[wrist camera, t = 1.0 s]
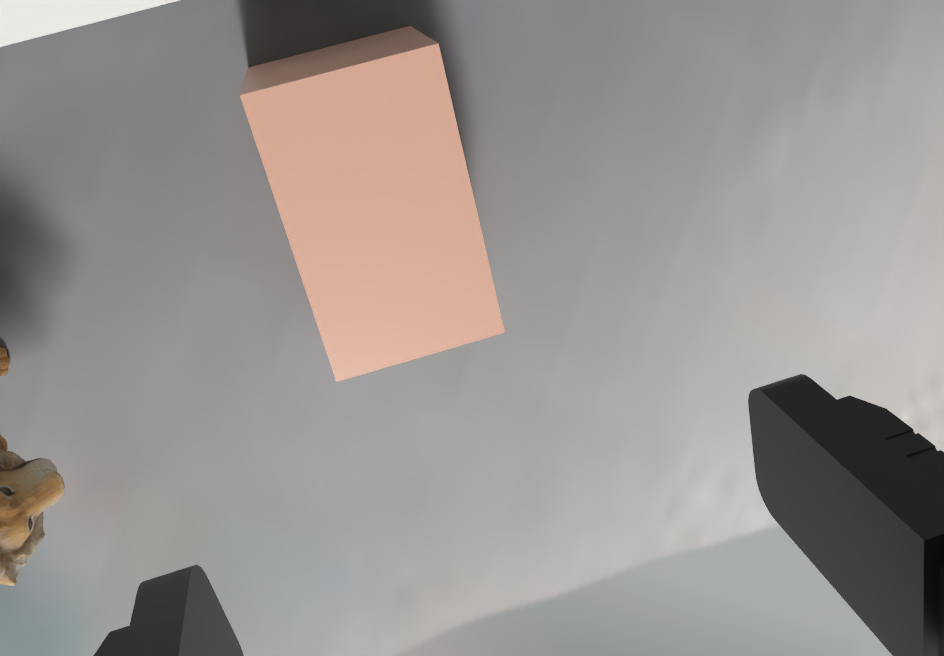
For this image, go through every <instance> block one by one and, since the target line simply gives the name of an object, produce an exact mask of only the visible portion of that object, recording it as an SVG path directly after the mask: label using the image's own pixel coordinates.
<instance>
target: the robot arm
mask: <svg viewBox="0 0 944 656" xmlns="http://www.w3.org/2000/svg"><path fill="white" fill-rule="evenodd" d="M748 403H749V414H750V424H751V434H752V444H753V454H754V463H755V473H756V480H757V484H758V487H759V491H760V493H761V496H762V498H763V501H764V503H765V505H766V507H767V509H768V510H769V512H770V513H771V515H772V516H773V518H774V519H775V520H776V521H777V523H778V524H779V525H780V526H781V527H782V528H783V529H784V531H785V532H786V533H787V534H788V535H789V536H790V538H792V540H793V541H794V542H795V543H796V544H797V546H798V547H799V548H800V549H801V550H802V551H803V552H804V554H805V555H806V556H807V557H808V558H809V559H810V561H811V562H812V563H813V564H814V565H815V566H816V568H817V569H818V570H819V571H820V572H821V573H822V574H823V576H824V577H825V578H826V579H827V580H828V581H829V582H830V584H831V585H832V586H833V587H834V588H835V589H836V590H837V592H838V593H839V594H840V595H841V596H842V597H843V599H844V600H845V601H846V602H847V603H848V604H849V606H850V607H851V608H852V609H853V610H854V611H855V612H856V614H857V615H858V616H859V617H860V618H861V619H862V620H863V622H864V623H865V624H866V625H867V626H868V627H869V629H870V630H871V631H872V632H873V633H874V634H875V635H876V637H877V638H878V639H879V640H880V641H881V642H882V644H883V645H884V646H885V647H886V648H887V649H888V651H889V652H890V653H891V654H892V655H893V656H944V452H942V451H941V450H940V451H937V450H936V448H935V446H934V445H933V444H932V443H931V442H929V441H928V440H927V439H925V438H924V437H923V436H921V435H920V434H919V433H917V434H915V433H914V431H913V429H912V428H911V427H909V426H908V425H907V424H905V423H904V422H903V421H902V420H900V419H899V418H898V417H896V416H895V415H894V414H892V413H891V412H890V411H888V410H887V409H885V408H882V407H880V406H877V405H874V404H871V403H868V402H866V401H863V400H860V399H857V398H855V397H852V396H847V397H844V398H841V399H838V400H836V399H835V398H834V397H833V396H832V395H830V394H829V393H828V392H827V391H825V390H824V389H823V388H822V387H820V386H819V385H818V384H817V383H815V382H814V381H813V380H812V379H810V378H809V377H808V376H806V375H802V374H800V375H797V376H794V377H790V378H787V379H784V380H781V381H778V382H775V383H772V384H768V385H765V386H762V387H759V388H756V389H753V390H752V391H751V392H750V394H749V400H748ZM94 656H243V652H242V649H241V647H240V644H239V642H238V640H237V638H236V636H235V634H234V632H233V630H232V627H231V625H230V623H229V621H228V619H227V617H226V615H225V613H224V611H223V609H222V607H221V605H220V603H219V600H218V598H217V596H216V594H215V592H214V590H213V588H212V586H211V584H210V582H209V580H208V578H207V576H206V574H205V572H204V571H203V569H202V568H201V567H200V566H198V565H194V566H191V567H188V568H185V569H182V570H178V571H175V572H172V573H169V574H166V575H163V576H159V577H156V578H153V579H150V580H147V581H144V582H142V583H141V584H140V586H139V588H138V591H137V595H136V600H135V604H134V609H133V613H132V618H131V622H130V626H127V627H124V628H121V629H118V630H115V631H112V632H110V633H109V634H108V635H107V637H106V638H105V640H104V641H103V643H102V644H101V646H100V647H99V649H98V650H97V652H96V653H95V654H94Z"/></svg>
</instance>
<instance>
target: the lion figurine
mask: <svg viewBox="0 0 944 656" xmlns="http://www.w3.org/2000/svg"><path fill="white" fill-rule="evenodd" d="M9 364H10V359H9V357H8V355H7V350H6V349H5V348H2V347H0V376H2V375H5V374H6V373H7V372H8V366H9ZM64 488H65V486H64V482H63V479H62V477H61V476H60V474H59V473H57V469H56V467H55V465H54V464H53V463H52V462H51V461H50V460H49V459H46V458H37V459H34V460H31V461H26V462H25V460H23V459H22V458H21V457H20V456H19V455H17V454H15V453H13V452H10V451H7V442H6V440H5V438H3V437H2V436H1V435H0V584H4V585H9V586H13V585H16V579H17V577H18V575H19V572H20V570H21V568H22V566H24V565H26V563H27V560H28V558H30V557H31V555H32V554H33V553H34V551H35V549H36V548H37V546H38V544H39V543H40V542H41V540H42V539H43V538H44V535H45V534H44V531H43V512H42V511H43V510H45V509H46V508H48V507H49V506H51V505H53V504H55V503H56V502H57V501H58V500H59V499H60V498H61V497H62V496H63V493H64Z"/></svg>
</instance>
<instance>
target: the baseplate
mask: <svg viewBox="0 0 944 656" xmlns="http://www.w3.org/2000/svg"><path fill="white" fill-rule="evenodd" d="M175 1H179V0H0V47H2V46H6V45H9V44H13V43H17V42H21V41H25V40H29V39H33V38H36V37H40V36H44V35H48V34H52V33H56V32H60V31H63V30H67V29H71V28H75V27H79V26H83V25H87V24H90V23H94V22H98V21H102V20H106V19H110V18H114V17H117V16H121V15H125V14H129V13H133V12H137V11H140V10H144V9H148V8H152V7H156V6H160V5H164V4H167V3H171V2H175Z"/></svg>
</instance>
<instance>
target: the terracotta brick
mask: <svg viewBox="0 0 944 656" xmlns="http://www.w3.org/2000/svg"><path fill="white" fill-rule="evenodd" d="M240 97H241V100H242V103H243V106H244V109H245V112H246V115H247V118H248V121H249V124H250V127H251V130H252V133H253V136H254V139H255V142H256V145H257V148H258V151H259V154H260V157H261V159H262V162H263V165H264V168H265V171H266V174H267V177H268V180H269V183H270V186H271V189H272V192H273V195H274V198H275V201H276V204H277V207H278V210H279V213H280V216H281V219H282V222H283V225H284V228H285V231H286V234H287V237H288V240H289V243H290V245H291V248H292V251H293V254H294V257H295V260H296V263H297V266H298V269H299V272H300V275H301V278H302V281H303V284H304V287H305V290H306V293H307V296H308V299H309V302H310V305H311V308H312V311H313V314H314V317H315V320H316V323H317V326H318V329H319V332H320V334H321V337H322V340H323V343H324V346H325V349H326V352H327V355H328V358H329V361H330V364H331V367H332V370H333V373H334V376H335V379H336V382H338V381H341V380H345V379H348V378H351V377H355V376H358V375H362V374H365V373H369V372H372V371H375V370H379V369H382V368H386V367H389V366H392V365H396V364H399V363H403V362H406V361H409V360H413V359H416V358H420V357H423V356H426V355H430V354H433V353H437V352H440V351H444V350H447V349H450V348H454V347H457V346H461V345H464V344H467V343H471V342H474V341H478V340H481V339H484V338H488V337H491V336H495V335H498V334H502V333H505V331H504V327H503V323H502V318H501V314H500V310H499V305H498V301H497V296H496V292H495V288H494V283H493V279H492V275H491V270H490V266H489V262H488V257H487V253H486V248H485V244H484V240H483V235H482V231H481V227H480V222H479V218H478V214H477V209H476V205H475V200H474V196H473V192H472V187H471V183H470V179H469V174H468V170H467V166H466V161H465V157H464V152H463V148H462V144H461V139H460V135H459V131H458V126H457V122H456V118H455V113H454V109H453V105H452V100H451V96H450V91H449V87H448V83H447V78H446V74H445V70H444V65H443V61H442V57H441V52H440V48H439V43H437V42H436V41H434V40H432V39H431V38H429V37H428V36H426V35H424V34H423V33H421V32H420V31H418V30H416V29H415V28H413V27H412V26H407V27H403V28H399V29H395V30H391V31H388V32H384V33H380V34H376V35H372V36H368V37H364V38H360V39H357V40H353V41H349V42H345V43H341V44H337V45H333V46H330V47H326V48H322V49H318V50H314V51H310V52H306V53H303V54H299V55H295V56H291V57H287V58H283V59H279V60H276V61H272V62H268V63H264V64H260V65H256V66H252V67H248V70H247V74H246V77H245V80H244V83H243V87H242V90H241V93H240Z"/></svg>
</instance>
